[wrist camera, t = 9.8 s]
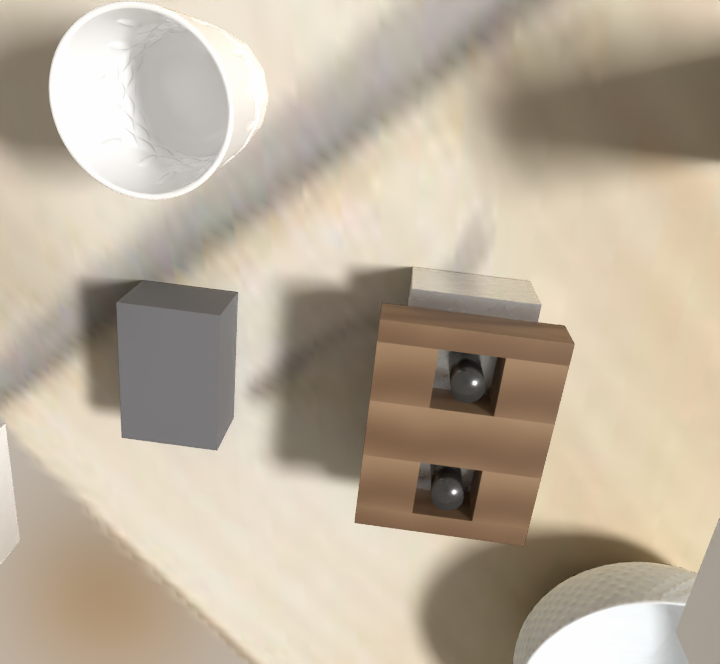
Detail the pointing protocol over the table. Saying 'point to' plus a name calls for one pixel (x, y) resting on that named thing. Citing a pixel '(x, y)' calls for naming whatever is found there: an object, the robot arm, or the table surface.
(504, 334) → the board
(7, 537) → the robot arm
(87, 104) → the white cup
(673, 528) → the table surface
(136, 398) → the riser
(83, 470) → the table surface
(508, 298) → the chassis
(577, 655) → the cereal bowl
